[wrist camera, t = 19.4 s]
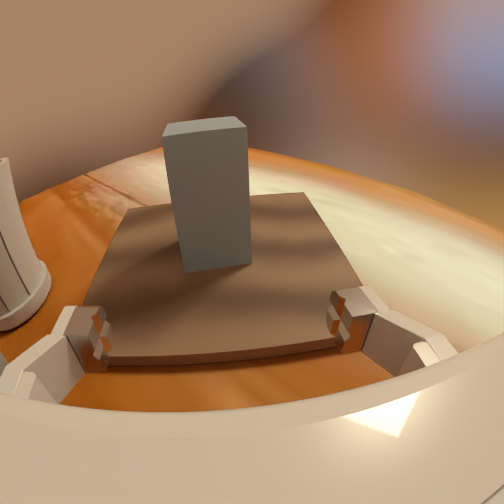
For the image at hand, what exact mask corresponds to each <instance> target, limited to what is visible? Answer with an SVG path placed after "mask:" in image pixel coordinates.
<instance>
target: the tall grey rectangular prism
mask: <svg viewBox="0 0 504 504" xmlns="http://www.w3.org/2000/svg"><path fill="white" fill-rule="evenodd" d="M162 142H163V150H164V157H165V164H166V171H167V177H168V184H169V190H170V196H171V202H172V208H173V213H174V219H175V224H176V230H177V235H178V240H179V245H180V250H181V255H182V260H183V265H184V270H185V273H190V272H197V271H204V270H211V269H218V268H225V267H232V266H238V265H245V264H252V246H251V221H250V196H249V171H248V146H247V127H246V126H245V125H244V124H243V123H242V122H240V121H239V120H238V119H237V118H236V117H235V116H232V117H221V118H210V119H201V120H192V121H186V122H178V123H171V124H168V125H167V127H166V129H165V131H164V133H163V135H162Z"/></svg>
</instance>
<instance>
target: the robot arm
mask: <svg viewBox="0 0 504 504" xmlns="http://www.w3.org/2000/svg"><path fill="white" fill-rule="evenodd" d="M329 300H330V302H331V304H332V305H331V306H330V307H329V308H328V309H327V314H326V323H327V327H328V330H329V332H330V334H332V335H334V336H335V337H336V338H335V344H336V346H337V348H338V350H339V352H340V354H341V355H342V354H347V353H353V352H359V351H362V353H363V354H365V355H366V356H367V357H369V358H370V359H372V360H373V361H374V362H376V363H377V364H378V365H380V366H381V367H382V368H384V369H385V370H386V371H388V372H389V373H391V374H392V375H393V376H395V377H394V378H391V379H387V380H384V381H381V382H377V383H374V384H370V385H366V386H363V387H359V388H355V389H351V390H347V391H343V392H338V393H334V394H329V395H325V396H320V397H315V398H310V399H304V400H299V401H293V402H287V403H281V404H274V405H267V406H259V407H250V408H241V409H230V410H218V411H201V412H130V411H113V410H101V409H91V408H82V407H74V406H66V405H60V404H59V403H60V402H61V401H62V400H63V399H64V398H65V396H66V395H67V394H68V393H69V392H70V391H71V389H72V388H73V387H74V386H75V385H76V384H77V382H78V381H79V380H80V379H81V378H82V377H83V376H84V374H85V372H98V373H106V370H107V366H108V362H109V357H108V355H107V353H108V352H109V351H111V350H112V346H113V332H112V328H111V325H110V324H109V323H108V322H107V321H105V319H106V316H107V314H106V312H105V309H104V307H102V306H66V307H64V309H63V311H62V312H61V314H60V316H59V318H58V320H57V322H56V324H55V326H54V328H53V330H52V332H51V335H46V336H45V337H43V338H42V339H41V340H39V341H38V342H37V343H35V344H34V345H33V346H31V347H30V348H29V349H28V350H26V351H25V352H24V353H22V354H21V355H20V356H18V357H17V358H16V359H15V360H13V361H12V362H11V363H10V364H8V365H7V366H6V367H5V369H4V371H3V373H2V375H1V377H0V504H504V332H503V333H502V334H500V335H498V336H496V337H494V338H492V339H490V340H488V341H486V342H484V343H481V344H479V345H477V346H475V347H473V348H471V349H468V350H466V351H464V352H461V353H459V354H458V353H457V351H456V350H455V349H454V348H453V346H452V345H451V344H450V343H449V341H448V340H447V339H446V337H445V336H444V335H443V334H442V333H440V332H438V331H436V330H433V329H431V328H429V327H427V326H425V325H423V324H421V323H419V322H417V321H415V320H413V319H411V318H409V317H407V316H405V315H403V314H401V313H398V312H396V311H394V310H391V311H390V310H389V308H388V307H387V306H386V305H385V303H384V302H383V301H382V299H381V298H380V297H379V296H378V294H377V293H376V292H375V291H374V289H373V288H372V287H371V286H369V285H367V286H360V287H357V288H349V289H341V290H333V291H332V292H331V294H330V299H329Z"/></svg>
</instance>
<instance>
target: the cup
mask: <svg viewBox="0 0 504 504" xmlns="http://www.w3.org/2000/svg"><path fill="white" fill-rule="evenodd" d="M50 287H51V276H50V274H49V272H48V270H47V267H46V265H45V263H44V262H43V261H41V260H39V259H38V258H37V256H36V254H35V251H34V249H33V246H32V244H31V241H30V239H29V236H28V233H27V231H26V228H25V225H24V222H23V219H22V215H21V212H20V208H19V205H18V201H17V197H16V194H15V189H14V185H13V180H12V175H11V170H10V164H9V159H8V158H2V159H0V331H6V330H10V329H13V328H15V327H18V326H20V325H21V324H22V323H24V322H25V321H27V320H28V319H30V318H31V317H32V316H33V315H34V314H35V313H36V312H37V311H38V310H39V308H40V307H41V306H42V304H43V303H44V301H45V300H46V297H47V295H48V292H49V290H50Z"/></svg>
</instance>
